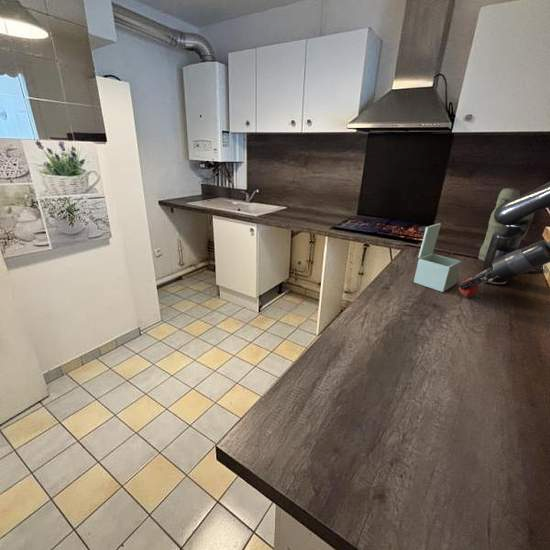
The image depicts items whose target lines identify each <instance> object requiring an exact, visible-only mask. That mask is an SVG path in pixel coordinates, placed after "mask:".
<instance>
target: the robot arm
mask: <svg viewBox="0 0 550 550" xmlns="http://www.w3.org/2000/svg"><path fill="white" fill-rule="evenodd" d="M548 208H550V181H549V182H547V183H545V184H542V185H541V186H539V187H537V188H536V189H534V190H532V191H530V192H527V193H525V194H522V195H519V197H517V198H514V199H512V200H509V201H507V202H504V203H502V204H501V205H500V206H499V207H498V208H497V209H496V211H495V214H494V218H495V220H496V221H497V222H498V223H500V224H502V227H501V228H500V229H499V230H498V231H496V232H495V233H494V234H493V236H492V239H491V242H490V245H489V248H488V251H487V254H486V258H485V261H483V263H482V267H481V270H480V272H479V273H477V274H475V275H474V276H472V279H469V278H468V279H469V280H468V281H466V282H463V281H462V282H463V283H462V282H461V283H459V284H458V288H459V287H460V288H461V290H464V289H466V288H468V287H471V286H472V287H475V286H476V285H478V286H480V285H483V284H485V283H486V284H489V285H494V286H504V285H506V284H507V280H510V279H513V278H515V277H518V276H521V275H523V274H526V273H540V272H543V271H544V270H545V268H544V269H543V265H544V266H545V265H547V264H549V263H550V242H549V241H547V240H545V239H543V240H538V241H536V242H534V243H530V244H528V245H527V246H524V247H522V248H519V247H520V244H521V242H522V240H523V239H524V238H525V236H526V235H527V233H528V230H529V228H530V226H531V223H532V221H533V218H534V215H535V213H536V212H539V211H541V210H545V209H548ZM539 267H541V268H540V269H537V268H539ZM473 280H474V281H475V282H476V283H474V282H473Z"/></svg>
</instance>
